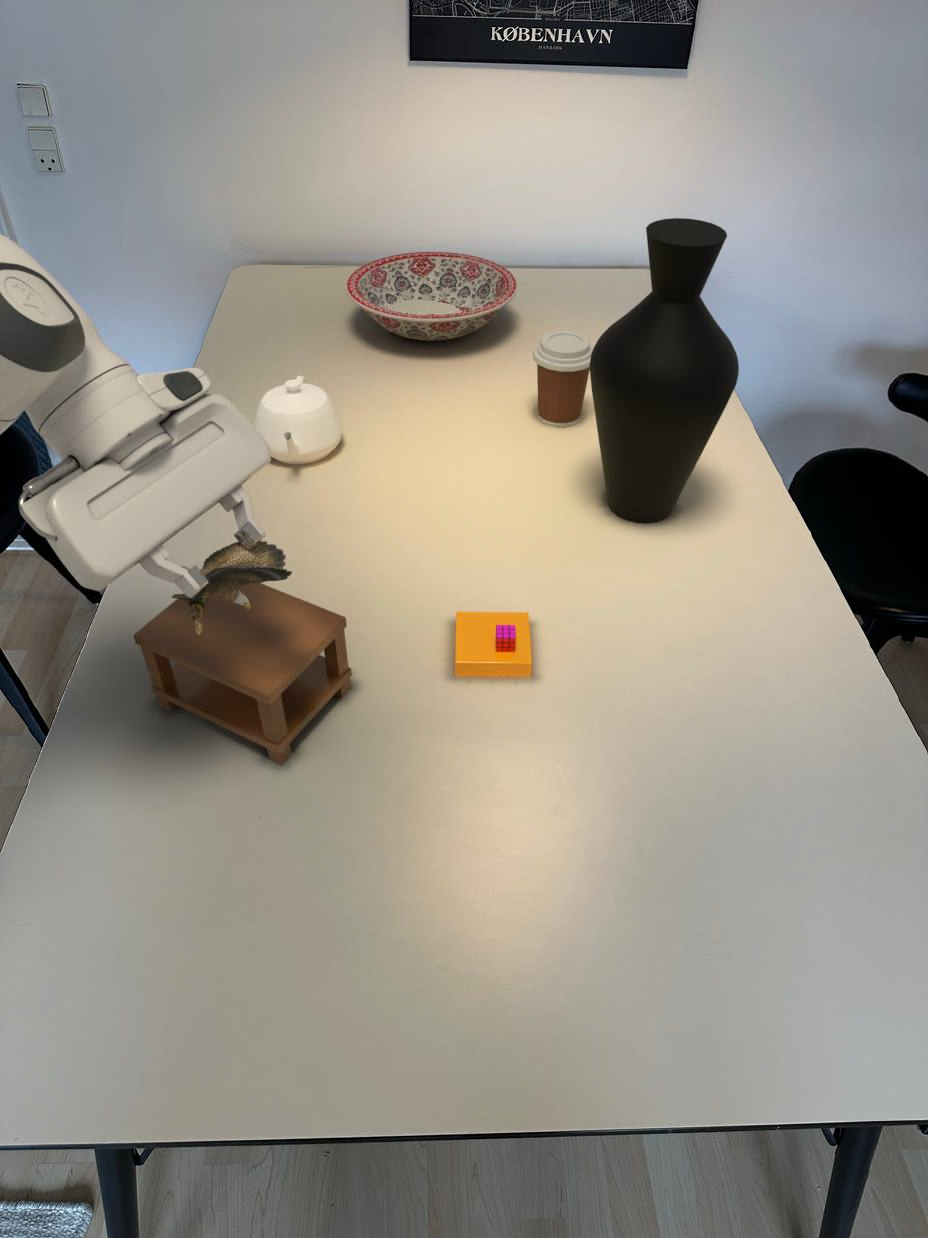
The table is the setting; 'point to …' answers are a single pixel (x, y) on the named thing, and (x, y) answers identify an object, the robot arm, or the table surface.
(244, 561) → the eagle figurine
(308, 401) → the teapot
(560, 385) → the coffee cup
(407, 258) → the ceramic bowl
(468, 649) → the orange block
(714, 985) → the table surface
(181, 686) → the shelf
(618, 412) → the vase
